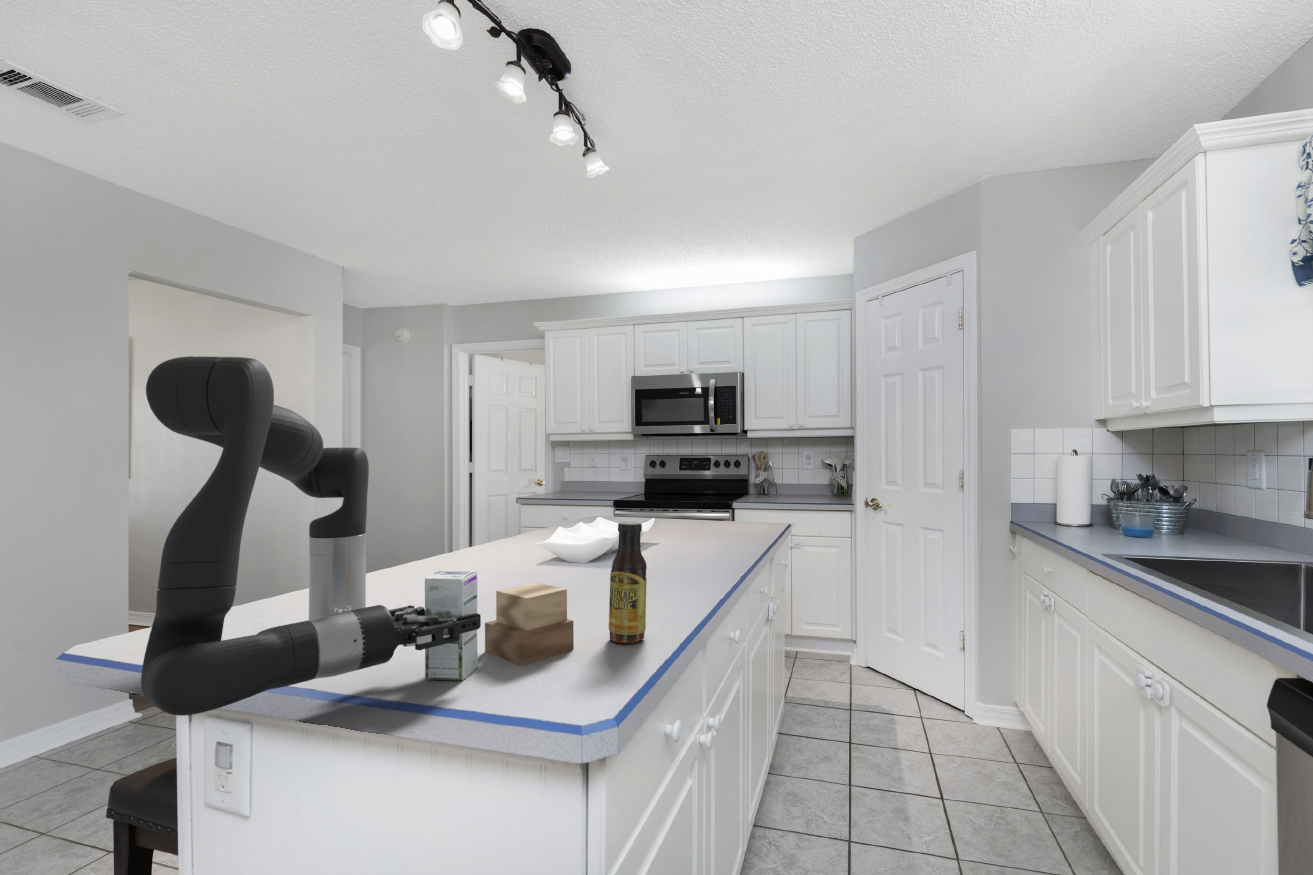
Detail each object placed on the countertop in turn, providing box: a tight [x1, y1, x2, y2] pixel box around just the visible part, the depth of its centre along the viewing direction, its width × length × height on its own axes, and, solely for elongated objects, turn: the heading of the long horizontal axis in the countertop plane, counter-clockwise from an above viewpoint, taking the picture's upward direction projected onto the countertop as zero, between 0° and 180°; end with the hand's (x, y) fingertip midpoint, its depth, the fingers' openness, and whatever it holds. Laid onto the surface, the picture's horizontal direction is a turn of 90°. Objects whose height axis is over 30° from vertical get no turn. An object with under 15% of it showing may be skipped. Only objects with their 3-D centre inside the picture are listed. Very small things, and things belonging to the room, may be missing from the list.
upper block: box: [495, 582, 568, 631], centre depth 99 cm, size 8×8×5 cm
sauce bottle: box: [608, 521, 648, 645], centre depth 104 cm, size 7×6×20 cm
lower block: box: [484, 618, 574, 667], centre depth 98 cm, size 10×10×5 cm
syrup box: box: [424, 570, 479, 681], centre depth 88 cm, size 6×6×14 cm
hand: (463, 615), depth 90 cm, fingers closed on syrup box, 8 cm apart
